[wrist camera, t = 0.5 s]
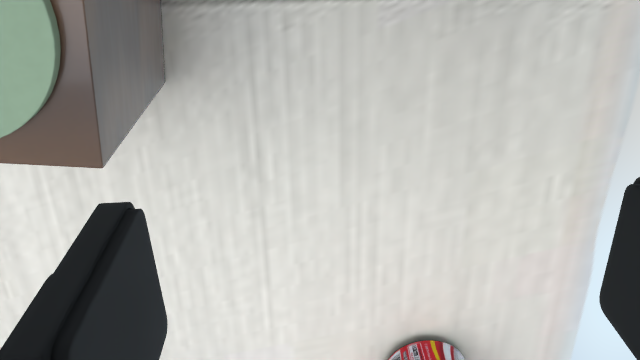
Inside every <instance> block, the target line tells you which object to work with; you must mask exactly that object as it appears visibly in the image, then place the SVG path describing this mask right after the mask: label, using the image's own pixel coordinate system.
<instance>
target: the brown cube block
mask: <svg viewBox="0 0 640 360" xmlns="http://www.w3.org/2000/svg"><path fill="white" fill-rule="evenodd" d="M50 2H51V4H52V7H53V10H54V13H55V16H56V20H57V25H58V30H59V35H60V48H61V53H60V66H59V71H58V76H57V80H56V83H55V85H54V88H53V90H52V93H51V94H50V96H49V98H48V99H47V101H46V103H45V104H44V106H43V107H42V108H41V109H40V110H39V112H38V113H37V114H36V115H35V116H34V117H32V118H31V119H30V120H29V121H28V122H27V123H25V124H24V125H23V126H22V127H20V128H19V129H17V130H15V131H14V132H12V133H11V134H9V135H6V136H4V137H2V138H0V163H9V164H29V165H48V166H68V167H88V168H103V167H104V166H105V164H106V163H107V162H108V160H109V159H110V158H111V156H112V155H113V153H114V152H115V151H116V149H117V148H118V147H119V145H120V144H121V142H122V141H123V140H124V138H125V137H126V136H127V134H128V133H129V131H130V130H131V129H132V127H133V126H134V124H135V123H136V122H137V120H138V119H139V118H140V116H141V115H142V113H143V112H144V111H145V109H146V108H147V107H148V105H149V104H150V102H151V101H152V100H153V98H154V97H155V96H156V94H157V93H158V91H159V90H160V89H161V87H162V86H163V85H164V83H165V72H164V54H163V36H162V18H161V0H50Z"/></svg>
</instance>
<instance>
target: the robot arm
mask: <svg viewBox="0 0 640 360" xmlns="http://www.w3.org/2000/svg"><path fill="white" fill-rule="evenodd" d="M600 305H601V309H602V311H603V313H604V314H605V316H606V317H607V318H608V320H609V321H610V323H611V324H612V326H613V327H614V328H615V330H616V331H617V332H618V334H619V335H620V337H621V338H622V339H623V341H624V342H625V344H626V345H627V346H628V348H629V349H630V350H631V352H632V353H633V355H634V356H635V357H636V358H637V360H640V177H639V178H637V179H636V181H635V182H634V184H631V185H629V186H628V187H627V188H626V190H625V193H624V197H623V201H622V205H621V210H620V214H619V218H618V221H617V226H616V230H615V234H614V238H613V242H612V246H611V250H610V255H609V259H608V263H607V266H606V271H605V275H604V279H603V283H602V287H601V291H600ZM166 334H167V315H166V311H165V306H164V302H163V297H162V292H161V288H160V283H159V279H158V274H157V269H156V265H155V260H154V255H153V251H152V246H151V242H150V237H149V232H148V228H147V223H146V219H145V215H144V212H143V210H142V209H135V208H134V206H133V204H132V203H131V202H120V203H101V204H99V205H98V206H97V207H96V209H95V210H94V212H93V213H92V215H91V216H90V218H89V219H88V221H87V222H86V224H85V226H84V227H83V229H82V230H81V232H80V233H79V235H78V236H77V238H76V239H75V241H74V243H73V244H72V246H71V247H70V249H69V250H68V252H67V253H66V255H65V256H64V258H63V260H62V261H61V263H60V264H59V266H58V267H57V269H56V270H55V272H54V273H53V274H51V275H50V276H49V277H48V279H47V280H46V281H45V283H44V284H43V286H42V287H41V289H40V290H39V292H38V293H37V295H36V296H35V298H34V299H33V301H32V302H31V304H30V305H29V307H28V308H27V310H26V312H25V313H24V315H23V316H22V318H21V319H20V321H19V322H18V324H17V325H16V327H15V328H14V330H13V331H12V333H11V334H10V336H9V337H8V339H7V341H6V342H5V344H4V345H3V347H2V348H1V350H0V360H159V358H160V355H161V351H162V348H163V345H164V341H165V338H166Z"/></svg>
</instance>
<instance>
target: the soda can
mask: <svg viewBox="0 0 640 360" xmlns="http://www.w3.org/2000/svg"><path fill="white" fill-rule="evenodd" d="M388 360H465V359H464V357H463V355H462V354H461V353H460V351H458V350H457V349H456V348H455V347H453V346H451V345H449V344H447V343H444V342H440V341H433V340H427V341H418V342H414V343H411V344H408V345H406V346H404V347H402V348H400V349H399V350H397V351H396V352H395V353H394V354H393V355H391V356H390V358H389V359H388Z"/></svg>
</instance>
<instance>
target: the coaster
mask: <svg viewBox="0 0 640 360" xmlns="http://www.w3.org/2000/svg"><path fill="white" fill-rule="evenodd" d="M60 53H61V48H60V35H59V30H58V25H57V20H56V16H55V13H54V10H53V7H52V4H51V2H50V0H0V138H2V137H4V136H6V135H9V134H11V133H12V132H14V131H15V130H17V129H19V128H20V127H22V126H23V125H24V124H25V123H27V122H28V121H29V120H30V119H31V118H32V117H34V116H35V115H36V114H37V113H38V112H39V110H40V109H41V108H42V107H43V106H44V104H45V103H46V101H47V99H48V98H49V96H50V94H51V93H52V90H53V88H54V85H55V83H56V80H57V76H58V71H59V66H60Z"/></svg>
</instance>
